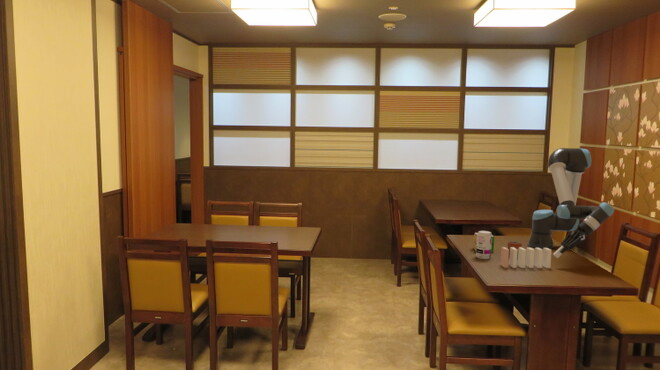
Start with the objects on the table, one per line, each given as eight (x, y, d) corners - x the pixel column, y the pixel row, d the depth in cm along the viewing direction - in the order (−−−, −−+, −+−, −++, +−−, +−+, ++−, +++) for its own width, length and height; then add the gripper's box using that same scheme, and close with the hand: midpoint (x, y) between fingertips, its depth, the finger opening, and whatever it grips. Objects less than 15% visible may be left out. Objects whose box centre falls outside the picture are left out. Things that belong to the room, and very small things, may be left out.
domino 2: (512, 265, 263) (513, 247, 262) (516, 267, 258) (517, 249, 257) (508, 265, 263) (510, 247, 261) (512, 267, 258) (513, 249, 256)
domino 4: (529, 265, 263) (530, 247, 262) (533, 268, 258) (534, 249, 257) (525, 265, 263) (526, 247, 262) (529, 268, 258) (530, 249, 257)
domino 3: (520, 265, 263) (522, 247, 262) (524, 268, 258) (526, 249, 257) (517, 265, 263) (518, 247, 262) (521, 267, 258) (522, 249, 257)
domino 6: (545, 265, 263) (547, 247, 262) (550, 268, 258) (551, 250, 257) (542, 265, 263) (543, 247, 262) (546, 268, 258) (547, 249, 257)
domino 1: (504, 265, 262) (505, 247, 261) (507, 267, 257) (509, 249, 256) (500, 265, 262) (501, 247, 261) (504, 267, 257) (505, 249, 256)
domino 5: (537, 265, 263) (538, 247, 262) (541, 268, 258) (543, 249, 257) (533, 265, 263) (535, 247, 262) (538, 268, 258) (539, 249, 257)
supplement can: (490, 256, 280) (492, 231, 278) (490, 260, 272) (492, 234, 271) (476, 255, 283) (477, 230, 281) (475, 258, 275) (477, 232, 273)
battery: (506, 256, 281) (507, 240, 279) (518, 257, 280) (519, 240, 279) (509, 258, 276) (510, 241, 275) (521, 259, 276) (522, 242, 275)
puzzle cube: (489, 249, 299) (490, 233, 298) (493, 253, 289) (494, 236, 288) (473, 248, 300) (474, 232, 299) (476, 252, 290) (477, 236, 289)
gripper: (576, 218, 265) (544, 248, 266) (590, 223, 252) (556, 254, 253) (585, 228, 266) (553, 257, 267) (599, 233, 253) (566, 264, 254)
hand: (555, 256), depth 260 cm, fingers closed
